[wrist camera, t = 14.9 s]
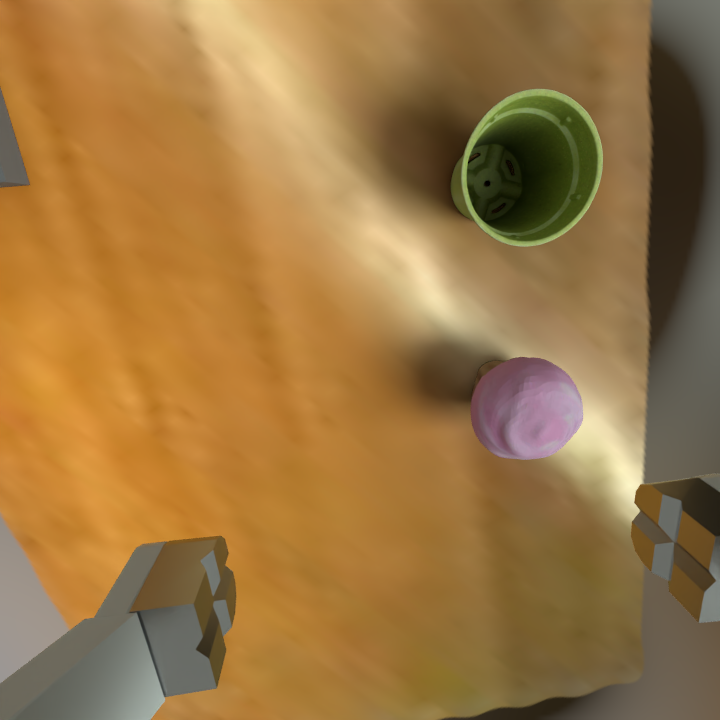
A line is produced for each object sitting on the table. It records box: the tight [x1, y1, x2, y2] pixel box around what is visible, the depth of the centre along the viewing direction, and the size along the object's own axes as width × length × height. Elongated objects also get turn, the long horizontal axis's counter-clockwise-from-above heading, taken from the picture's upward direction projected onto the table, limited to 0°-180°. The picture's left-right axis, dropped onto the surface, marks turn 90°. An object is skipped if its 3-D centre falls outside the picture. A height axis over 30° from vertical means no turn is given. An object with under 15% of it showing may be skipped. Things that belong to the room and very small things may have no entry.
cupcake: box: [471, 357, 583, 460], centre depth 37 cm, size 9×9×10 cm
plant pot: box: [451, 89, 603, 246], centre depth 32 cm, size 9×9×9 cm
